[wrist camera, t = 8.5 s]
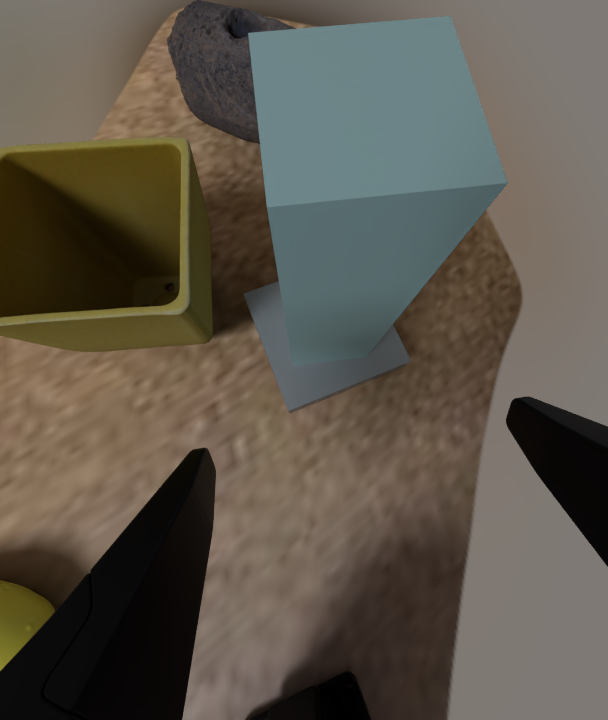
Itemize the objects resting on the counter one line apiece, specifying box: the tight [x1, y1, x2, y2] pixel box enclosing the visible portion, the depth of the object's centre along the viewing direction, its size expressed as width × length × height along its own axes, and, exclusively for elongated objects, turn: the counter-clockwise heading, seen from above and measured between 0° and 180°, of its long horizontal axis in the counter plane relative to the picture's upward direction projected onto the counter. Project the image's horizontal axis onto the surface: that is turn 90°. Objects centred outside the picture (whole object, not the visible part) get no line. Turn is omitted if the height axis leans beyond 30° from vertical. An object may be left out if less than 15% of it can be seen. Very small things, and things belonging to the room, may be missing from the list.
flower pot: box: [0, 137, 213, 352], centre depth 17 cm, size 9×9×9 cm
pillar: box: [248, 16, 508, 366], centre depth 12 cm, size 4×4×13 cm
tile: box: [243, 281, 411, 413], centre depth 20 cm, size 8×8×2 cm
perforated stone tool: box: [167, 0, 296, 143], centre depth 21 cm, size 15×5×7 cm, turn 72°
